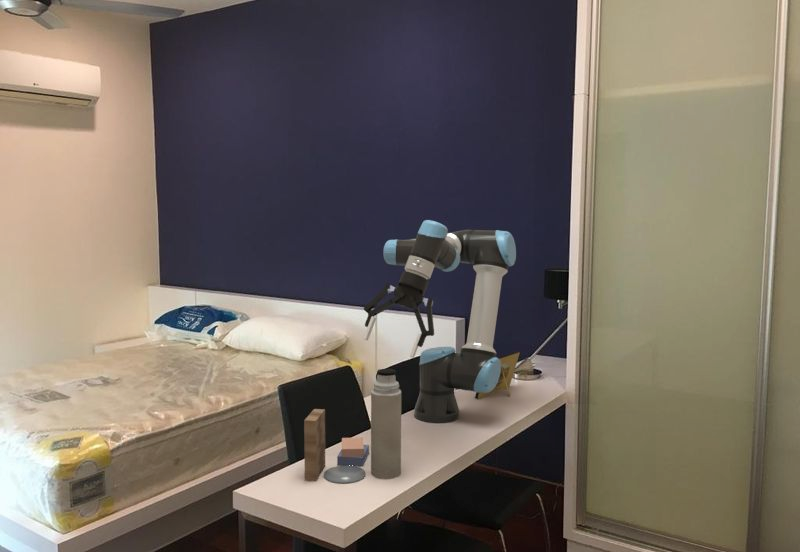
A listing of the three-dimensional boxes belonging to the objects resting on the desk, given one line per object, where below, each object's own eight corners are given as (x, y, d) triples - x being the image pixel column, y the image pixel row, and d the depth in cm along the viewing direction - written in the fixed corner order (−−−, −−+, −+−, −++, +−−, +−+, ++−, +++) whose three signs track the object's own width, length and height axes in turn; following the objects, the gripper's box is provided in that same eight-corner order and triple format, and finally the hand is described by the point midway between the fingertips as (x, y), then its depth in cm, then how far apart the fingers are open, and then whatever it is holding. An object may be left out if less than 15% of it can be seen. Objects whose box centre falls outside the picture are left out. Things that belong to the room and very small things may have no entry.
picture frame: (506, 385, 270) (511, 349, 267) (526, 392, 265) (531, 355, 262) (474, 398, 252) (478, 359, 250) (495, 405, 247) (500, 366, 244)
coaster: (329, 466, 187) (329, 464, 187) (369, 468, 186) (369, 466, 186) (319, 482, 176) (319, 480, 176) (361, 484, 175) (361, 483, 175)
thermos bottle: (370, 467, 186) (370, 366, 183) (399, 467, 187) (400, 366, 184) (371, 479, 178) (371, 374, 175) (401, 478, 179) (402, 373, 176)
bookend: (314, 465, 187) (314, 408, 185) (325, 466, 187) (325, 409, 185) (304, 480, 177) (304, 420, 176) (316, 481, 177) (315, 421, 175)
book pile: (343, 451, 198) (343, 436, 197) (369, 453, 197) (369, 437, 196) (335, 465, 188) (334, 448, 187) (362, 467, 187) (362, 450, 186)
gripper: (372, 257, 186) (343, 330, 183) (458, 287, 181) (429, 363, 178) (377, 263, 194) (349, 334, 191) (460, 292, 188) (433, 365, 185)
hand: (388, 348), depth 184 cm, fingers open, 13 cm apart
